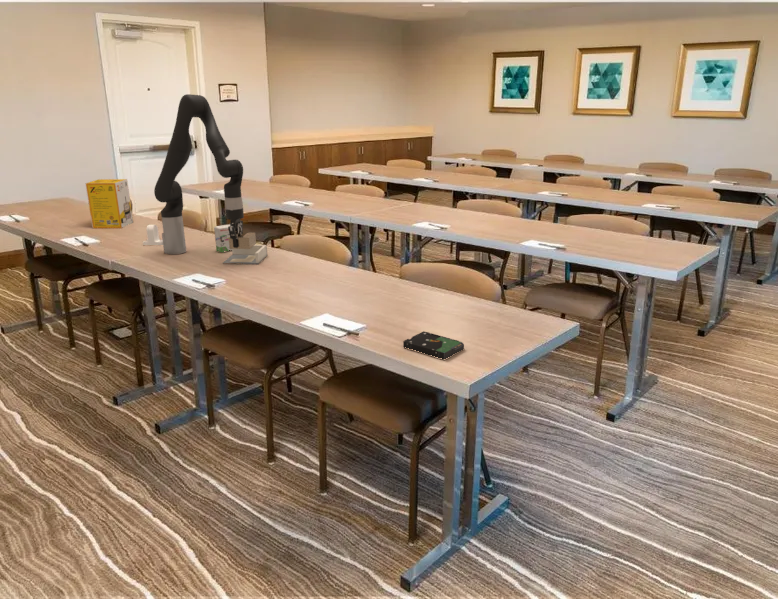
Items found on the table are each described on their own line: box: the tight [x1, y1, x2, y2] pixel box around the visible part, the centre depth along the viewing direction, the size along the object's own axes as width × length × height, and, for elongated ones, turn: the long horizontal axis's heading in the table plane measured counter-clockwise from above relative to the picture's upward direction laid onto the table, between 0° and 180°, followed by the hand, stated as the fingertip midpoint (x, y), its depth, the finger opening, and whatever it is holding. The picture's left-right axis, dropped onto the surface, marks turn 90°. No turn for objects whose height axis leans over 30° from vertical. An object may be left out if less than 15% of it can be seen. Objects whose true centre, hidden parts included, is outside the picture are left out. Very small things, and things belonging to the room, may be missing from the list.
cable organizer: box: [142, 224, 163, 246], centre depth 307 cm, size 5×10×10 cm, turn 84°
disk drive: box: [402, 330, 465, 360], centre depth 181 cm, size 10×3×15 cm
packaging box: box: [85, 178, 134, 229], centre depth 350 cm, size 16×16×25 cm
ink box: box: [213, 223, 232, 253], centre depth 294 cm, size 8×5×12 cm, turn 129°
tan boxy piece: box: [229, 232, 257, 249], centre depth 276 cm, size 9×10×5 cm
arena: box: [222, 244, 268, 265], centre depth 278 cm, size 16×15×5 cm
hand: (237, 246), depth 273 cm, fingers closed on tan boxy piece, 4 cm apart
